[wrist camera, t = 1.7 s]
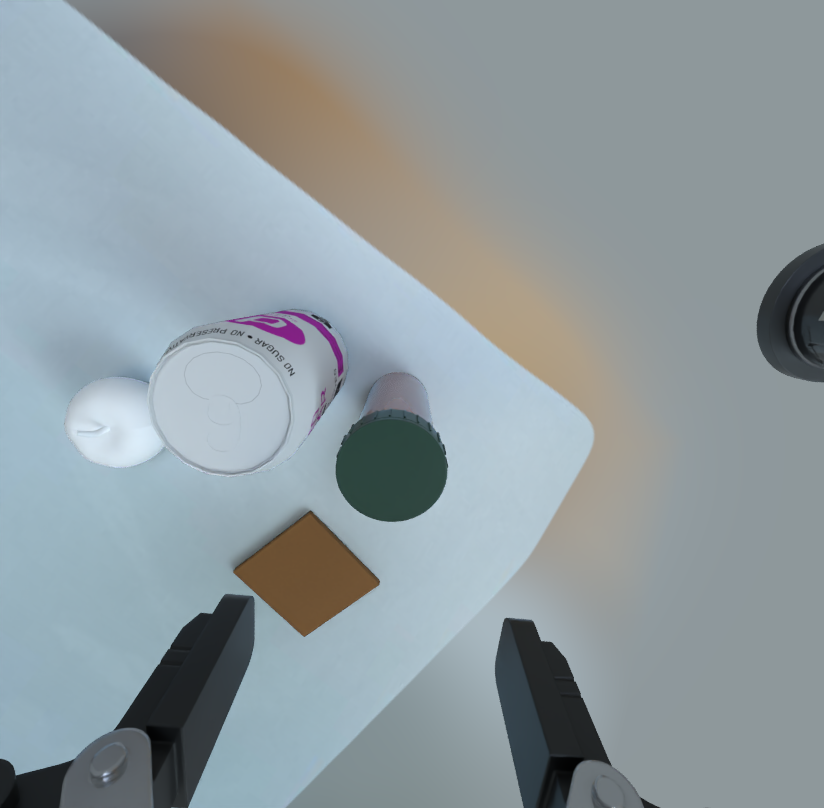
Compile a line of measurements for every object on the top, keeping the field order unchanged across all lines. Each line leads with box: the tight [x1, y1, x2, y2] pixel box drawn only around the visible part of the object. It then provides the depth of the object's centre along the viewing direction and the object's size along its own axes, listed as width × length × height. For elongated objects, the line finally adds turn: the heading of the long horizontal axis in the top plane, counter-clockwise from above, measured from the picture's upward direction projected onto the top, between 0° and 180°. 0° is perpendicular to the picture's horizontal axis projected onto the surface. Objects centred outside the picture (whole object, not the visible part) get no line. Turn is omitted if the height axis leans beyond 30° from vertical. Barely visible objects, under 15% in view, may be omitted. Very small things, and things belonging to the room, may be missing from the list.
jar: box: [359, 372, 433, 427], centre depth 29 cm, size 5×5×14 cm
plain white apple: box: [64, 377, 164, 468], centre depth 31 cm, size 7×7×8 cm
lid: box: [336, 408, 448, 522], centre depth 22 cm, size 6×6×2 cm
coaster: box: [233, 511, 380, 637], centre depth 40 cm, size 10×10×1 cm
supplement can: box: [146, 309, 348, 477], centre depth 27 cm, size 8×8×15 cm
